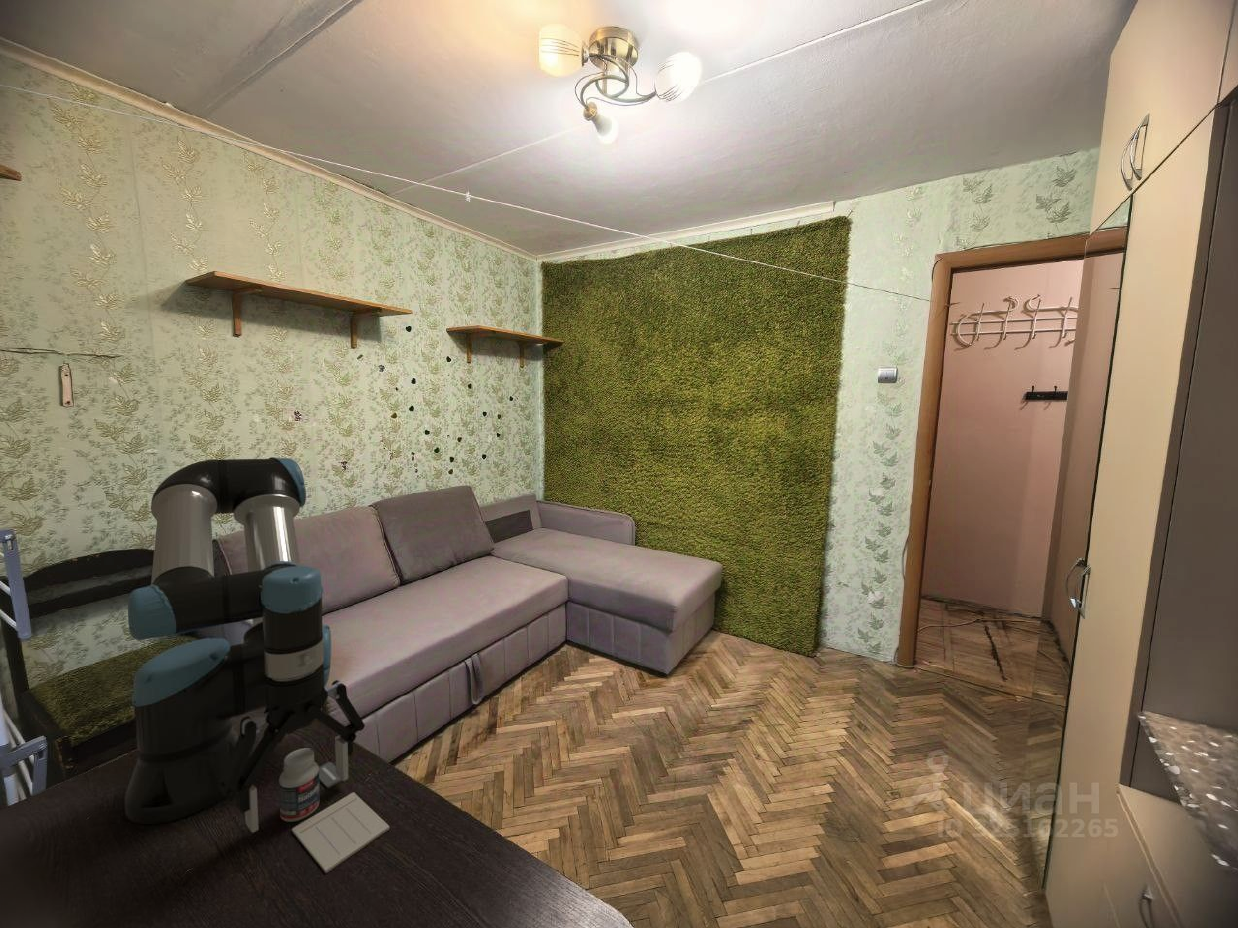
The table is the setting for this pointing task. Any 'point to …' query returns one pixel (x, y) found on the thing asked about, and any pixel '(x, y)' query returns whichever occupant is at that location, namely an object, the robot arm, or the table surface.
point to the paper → (340, 831)
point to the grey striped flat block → (328, 775)
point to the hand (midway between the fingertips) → (300, 799)
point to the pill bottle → (299, 786)
